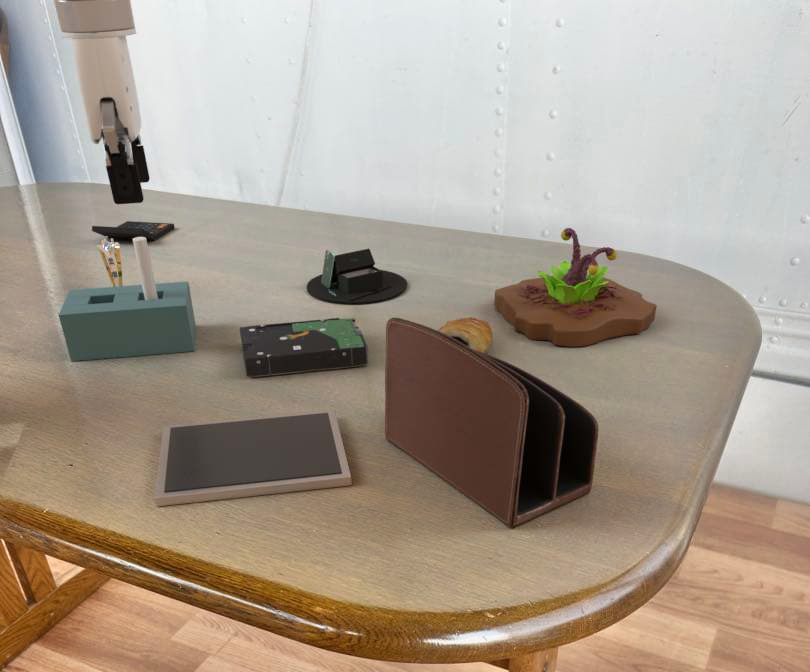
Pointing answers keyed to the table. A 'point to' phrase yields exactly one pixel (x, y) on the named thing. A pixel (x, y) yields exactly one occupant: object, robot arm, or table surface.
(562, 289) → the plant
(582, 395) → the table surface
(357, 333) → the disk drive
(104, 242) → the ring
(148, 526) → the table surface
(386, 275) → the round circuit board stand
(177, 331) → the dock
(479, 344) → the pastry
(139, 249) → the stylus
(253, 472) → the tablet
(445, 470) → the letter holder
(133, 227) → the calculator
